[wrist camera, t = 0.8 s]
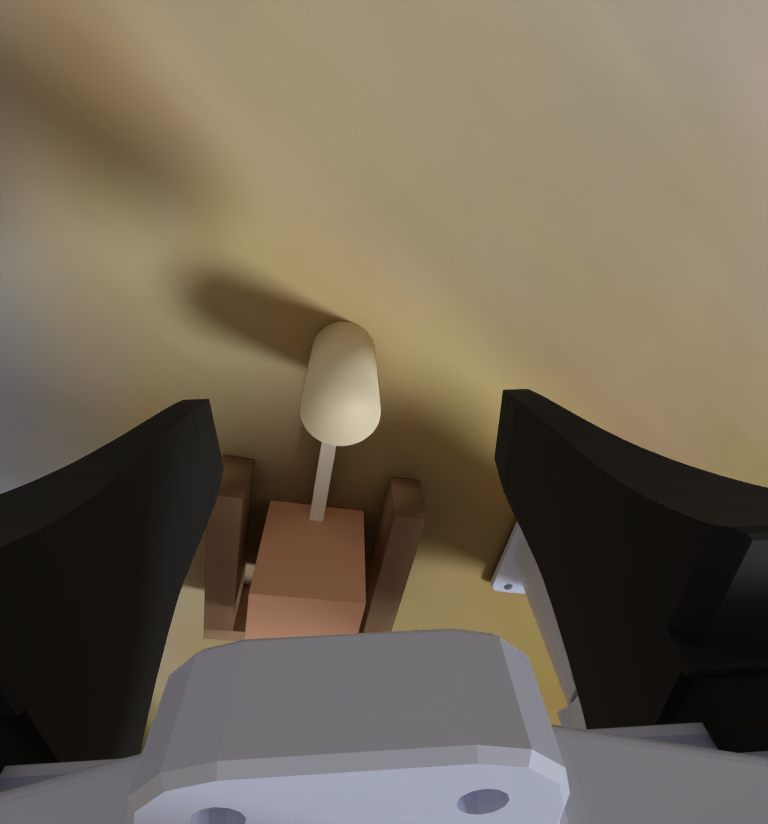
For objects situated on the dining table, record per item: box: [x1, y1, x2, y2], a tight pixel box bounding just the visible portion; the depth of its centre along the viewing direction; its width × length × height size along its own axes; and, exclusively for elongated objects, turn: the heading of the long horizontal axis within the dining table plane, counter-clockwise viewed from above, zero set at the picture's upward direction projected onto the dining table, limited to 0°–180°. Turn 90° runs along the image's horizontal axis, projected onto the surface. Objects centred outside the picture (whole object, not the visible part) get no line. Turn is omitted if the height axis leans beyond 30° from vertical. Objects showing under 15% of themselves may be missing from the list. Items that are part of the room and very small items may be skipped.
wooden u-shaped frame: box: [204, 456, 426, 641], centre depth 26 cm, size 10×10×3 cm
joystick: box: [245, 322, 381, 640], centre depth 22 cm, size 5×15×6 cm, turn 169°
